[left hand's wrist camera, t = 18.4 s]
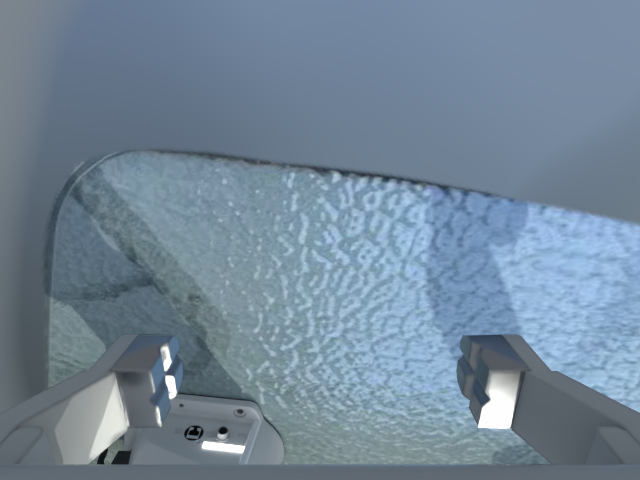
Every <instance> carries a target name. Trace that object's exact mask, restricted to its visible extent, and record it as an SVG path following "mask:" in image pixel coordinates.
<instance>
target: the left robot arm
mask: <svg viewBox="0 0 640 480" xmlns="http://www.w3.org/2000/svg"><path fill="white" fill-rule="evenodd" d="M179 349H180V344H179V339H178V337H177V336H176V335H154V334H141V335H140V334H123V335H120V336H119V337H118V338H117V339H116V340H115V341H114V343H113V344H112V345H111V346H110V347H109V348H108V349H107V351H106V352H105V353H104V354H103V355H102V356H101V357H100V359H99V360H98V361H97V362H96V363H95V364H94V365H93V367H92V368H91V369H90V370H89V371H82V372H80V373H78V374H76V375H74V376H72V377H70V378H68V379H66V380H64V381H62V382H60V383H58V384H57V385H55V386H53V387H51V388H49V389H47V390H45V391H43V392H41V393H39V394H37V395H35V396H33V397H31V398H29V399H27V400H25V401H23V402H21V403H19V404H17V405H15V406H13V407H11V408H9V409H7V410H5V411H3V412H1V413H0V480H640V413H638V412H636V411H635V410H633V409H631V408H629V407H627V406H625V405H623V404H621V403H619V402H617V401H615V400H613V399H611V398H609V397H607V396H605V395H603V394H601V393H599V392H597V391H595V390H593V389H591V388H589V387H587V386H585V385H583V384H581V383H579V382H578V381H576V380H574V379H572V378H570V377H568V376H566V375H564V374H562V373H560V372H558V371H551V370H550V369H549V368H548V367H547V365H546V364H545V363H544V362H543V361H542V360H541V359H540V357H539V356H538V355H537V354H536V353H535V352H534V351H533V349H532V348H531V347H530V346H529V345H528V344H527V343H526V341H525V340H524V339H523V338H522V337H521V336H520V335H518V334H499V335H463V337H462V339H461V343H460V349H461V351H462V353H463V354H464V355H463V356H462V357H461V358H460V359H459V360H458V362H457V381H458V384H459V388H460V390H461V392H462V394H463V395H464V396H465V397H466V398H468V399H469V400H470V404H469V409H470V411H471V413H472V415H473V417H474V419H475V421H476V423H477V425H478V427H482V428H512V431H514V432H515V433H516V434H517V435H518V436H519V437H521V438H522V439H523V440H524V441H525V442H526V443H528V444H529V445H530V446H531V447H532V448H534V449H535V450H536V451H537V452H538V453H539V454H541V455H542V456H543V457H544V458H545V459H547V460H548V461H549V462H550V463H551V464H530V465H482V464H311V465H281V464H282V462H283V459H284V445H283V442H282V440H281V438H280V436H279V434H278V433H277V432H276V430H275V429H274V428H273V427H272V426H271V425H270V424H268V423H267V422H266V420H265V419H264V418H263V415H262V413H261V410H260V408H259V407H258V405H257V404H256V403H254V402H252V401H244V400H234V399H224V398H214V397H204V396H194V395H184V394H178V392H179V390H180V388H181V384H182V380H183V362H182V360H181V359H180V358H179V357H178V356H177V355H176V354H177V353H178V351H179ZM239 409H241V410H239ZM124 433H125V434H124ZM123 434H124V449H125V451H118V453H117V455H116V456H115V458H114V460H113V462H112V463H111V464H104V459H105V457H106V455H107V452H108V447H109V446H110V445H111V444H112V443H114V442H115V441H116V440H117V439H118V438H120V437H121V436H122V435H123ZM99 454H100V456H99V458H98V462H97V464H89V463H90V462H91V461H92V460H94V459H95V458H96V457H97V456H98V455H99Z"/></svg>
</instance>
